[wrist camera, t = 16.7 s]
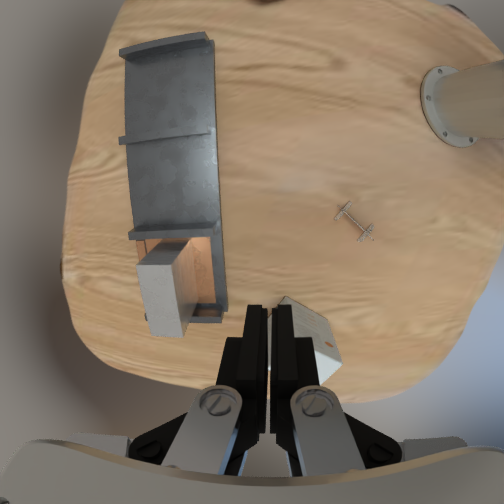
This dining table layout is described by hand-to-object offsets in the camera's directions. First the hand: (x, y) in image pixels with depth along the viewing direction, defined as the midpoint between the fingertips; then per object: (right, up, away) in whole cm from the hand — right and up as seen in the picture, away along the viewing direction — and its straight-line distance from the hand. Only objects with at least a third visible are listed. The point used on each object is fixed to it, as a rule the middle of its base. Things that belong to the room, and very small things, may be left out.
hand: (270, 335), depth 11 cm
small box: (+6, -7, +31) cm, 32 cm away
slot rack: (-11, +12, +24) cm, 29 cm away
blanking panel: (-10, +1, +27) cm, 29 cm away
